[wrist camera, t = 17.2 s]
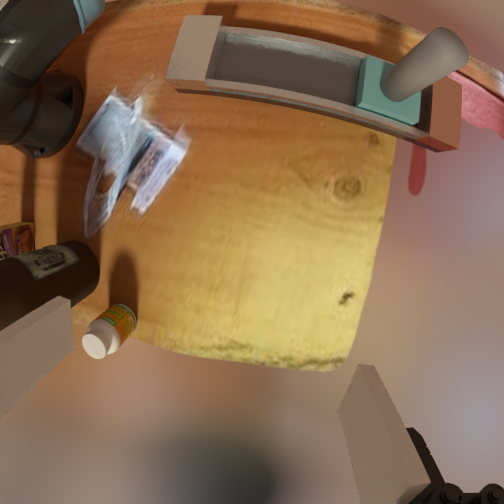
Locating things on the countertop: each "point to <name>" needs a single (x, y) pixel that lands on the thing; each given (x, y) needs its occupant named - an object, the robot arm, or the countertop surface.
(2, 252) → the candy box
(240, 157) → the countertop surface
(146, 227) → the countertop surface
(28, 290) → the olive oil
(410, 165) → the countertop surface
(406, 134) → the rail track
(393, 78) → the carriage
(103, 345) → the supplement bottle
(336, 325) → the countertop surface
